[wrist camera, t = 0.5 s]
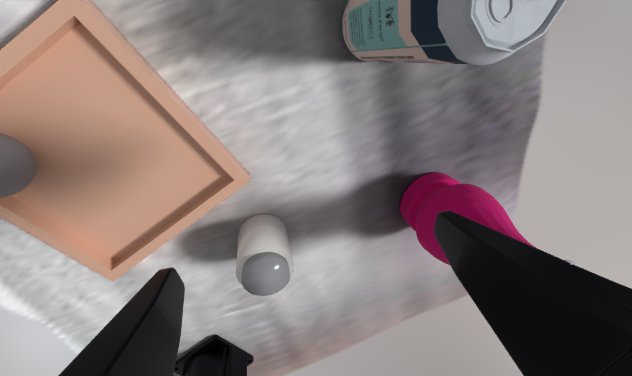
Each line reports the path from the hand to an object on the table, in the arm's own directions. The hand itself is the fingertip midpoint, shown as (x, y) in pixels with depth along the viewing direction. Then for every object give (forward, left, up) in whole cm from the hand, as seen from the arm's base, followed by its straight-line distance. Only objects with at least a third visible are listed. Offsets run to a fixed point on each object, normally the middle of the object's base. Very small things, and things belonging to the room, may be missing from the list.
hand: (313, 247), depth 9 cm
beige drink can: (+11, +3, -14) cm, 18 cm away
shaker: (-6, -6, -14) cm, 17 cm away
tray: (-10, +6, -14) cm, 18 cm away
